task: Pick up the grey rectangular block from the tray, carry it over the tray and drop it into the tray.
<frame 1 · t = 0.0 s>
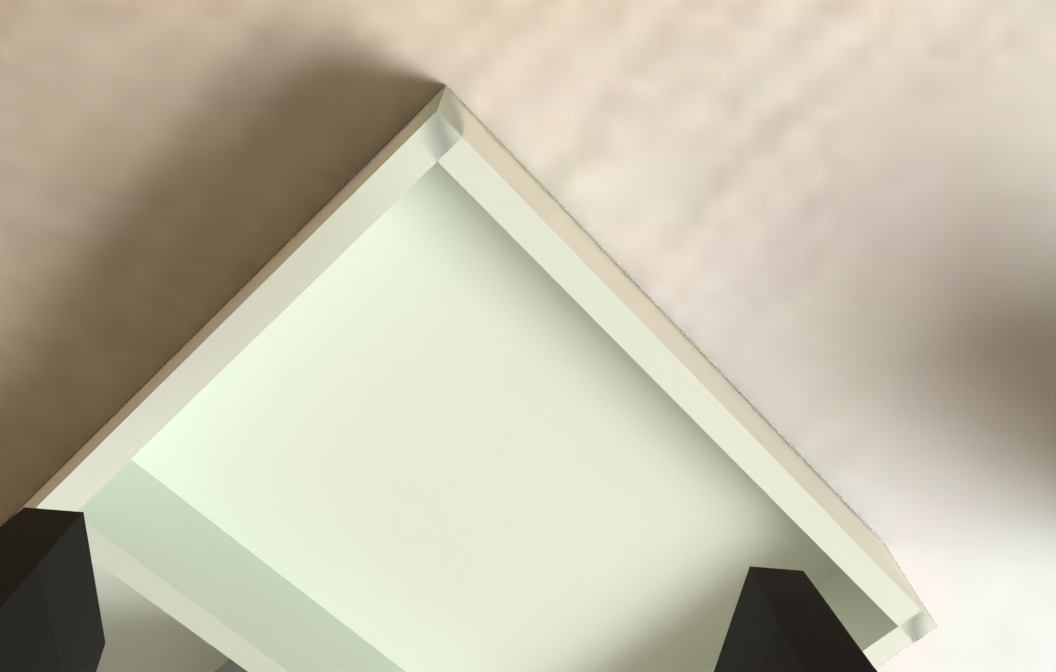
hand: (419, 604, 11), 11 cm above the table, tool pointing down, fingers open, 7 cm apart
tray: (346, 623, 24), on the table
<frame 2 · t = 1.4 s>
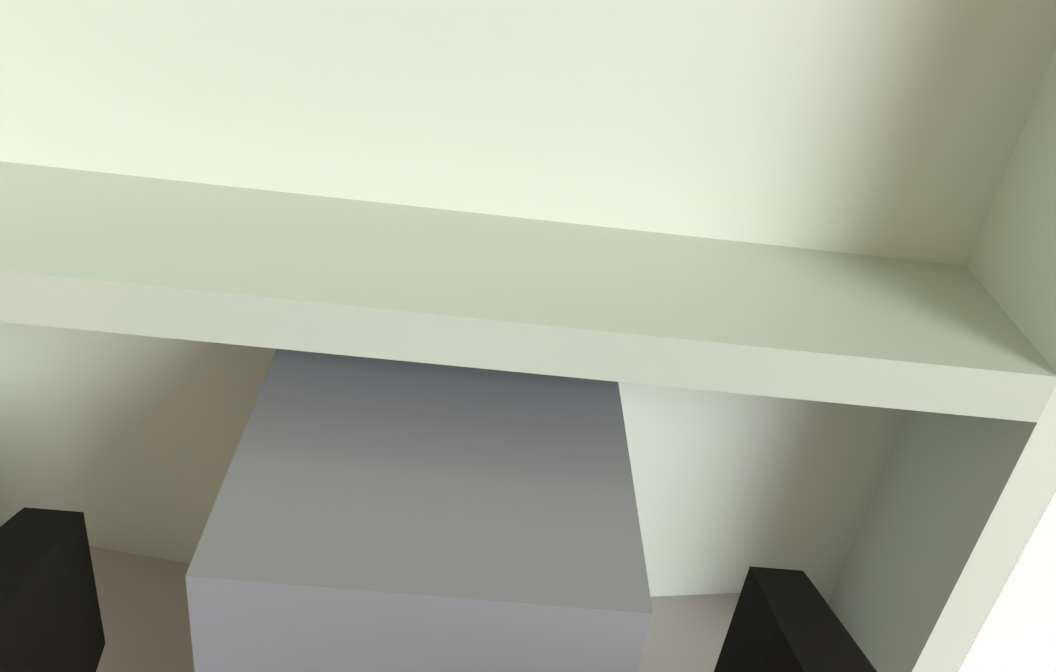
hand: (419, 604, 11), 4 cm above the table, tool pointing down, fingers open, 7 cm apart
tray: (426, 212, 12), on the table
granite stone 2: (119, 637, 16), resting on tray
grey rectangular block: (445, 425, 13), resting on tray
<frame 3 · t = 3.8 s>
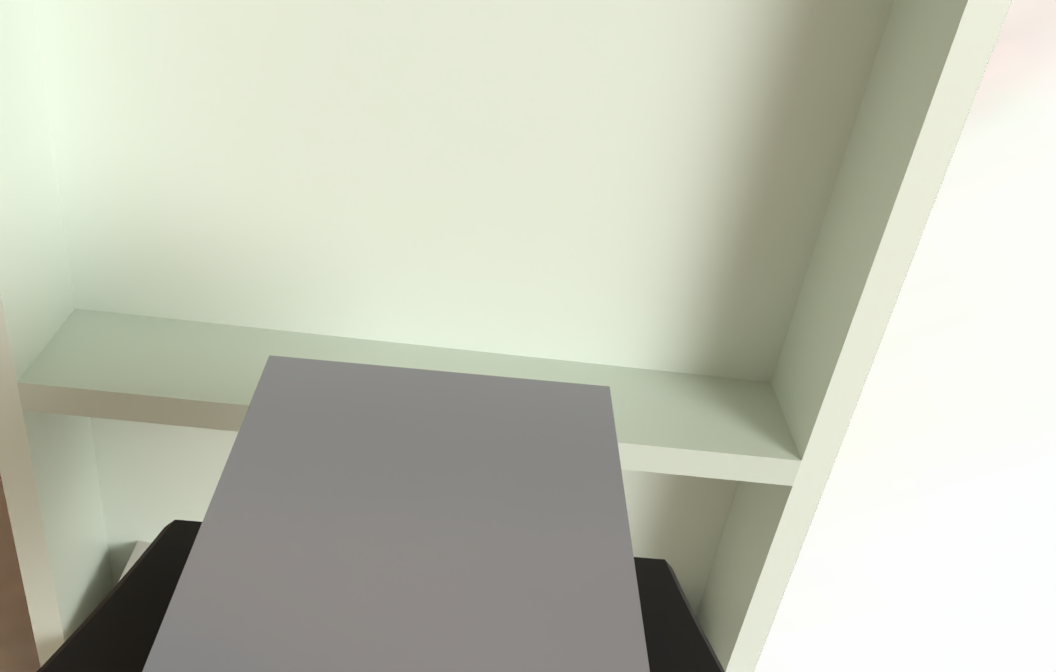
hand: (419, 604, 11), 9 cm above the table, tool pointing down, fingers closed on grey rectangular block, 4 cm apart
tray: (433, 345, 20), on the table
granite stone 2: (218, 615, 23), resting on tray
grey rectangular block: (430, 499, 12), point 7 cm above the table, touching gripper
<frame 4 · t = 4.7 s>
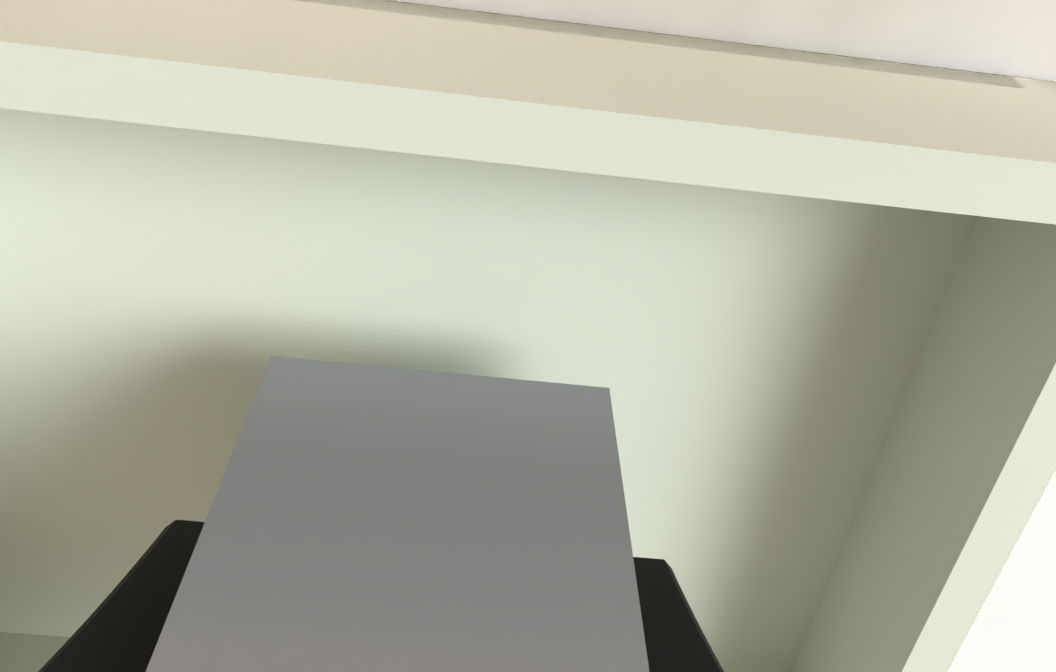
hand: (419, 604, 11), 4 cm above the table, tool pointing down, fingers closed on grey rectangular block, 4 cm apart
tray: (390, 647, 17), on the table
grey rectangular block: (430, 499, 12), point 2 cm above the table, touching gripper
when the fingers open (4 cm above the table, at t = 5.4 s): grey rectangular block drops 1 cm, resting on tray.
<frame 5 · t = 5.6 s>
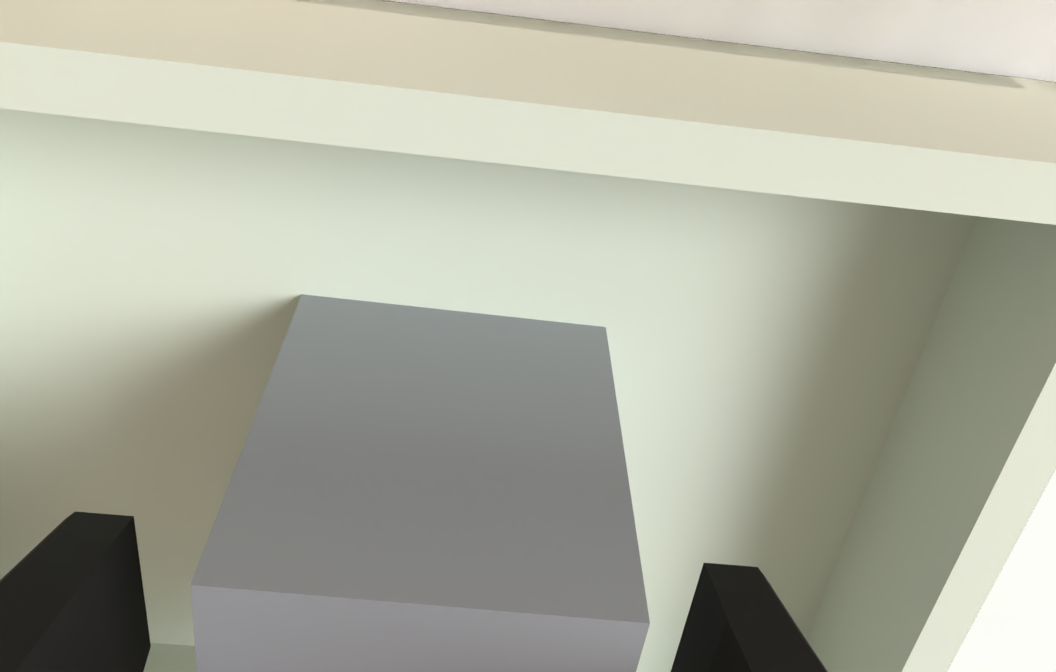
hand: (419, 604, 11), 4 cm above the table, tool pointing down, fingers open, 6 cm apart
tray: (391, 647, 17), on the table
grey rectangular block: (442, 430, 14), resting on tray
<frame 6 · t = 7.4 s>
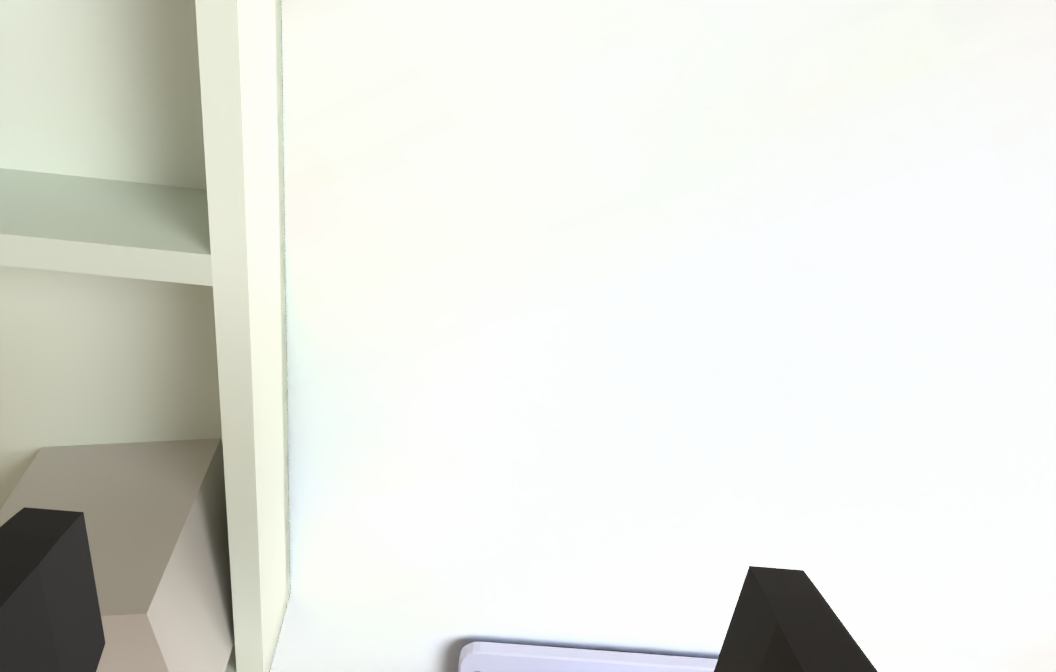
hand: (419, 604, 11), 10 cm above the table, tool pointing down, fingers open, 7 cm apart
light grey boxy piece 1: (154, 509, 22), resting on tray
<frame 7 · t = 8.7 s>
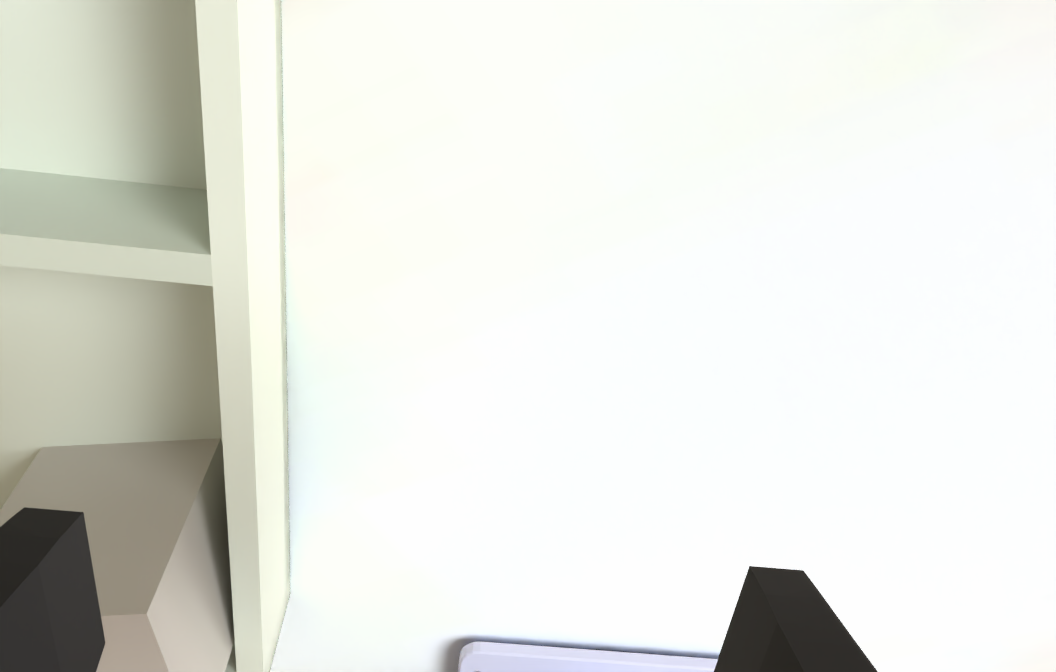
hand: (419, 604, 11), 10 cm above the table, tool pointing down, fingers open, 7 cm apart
light grey boxy piece 1: (154, 509, 22), resting on tray
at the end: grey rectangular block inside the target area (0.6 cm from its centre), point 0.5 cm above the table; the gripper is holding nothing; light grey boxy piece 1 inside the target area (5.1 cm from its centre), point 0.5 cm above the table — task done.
